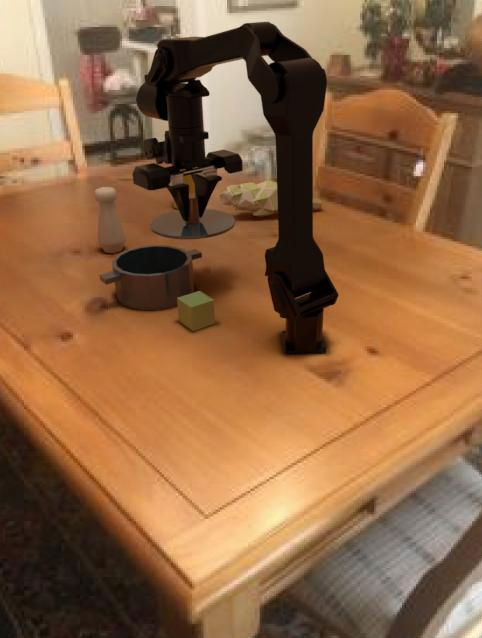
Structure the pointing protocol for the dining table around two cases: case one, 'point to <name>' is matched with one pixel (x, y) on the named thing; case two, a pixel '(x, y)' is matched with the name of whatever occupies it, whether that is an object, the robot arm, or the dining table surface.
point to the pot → (152, 276)
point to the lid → (192, 223)
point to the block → (196, 310)
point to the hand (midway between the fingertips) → (192, 218)
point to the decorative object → (256, 198)
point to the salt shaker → (109, 221)
